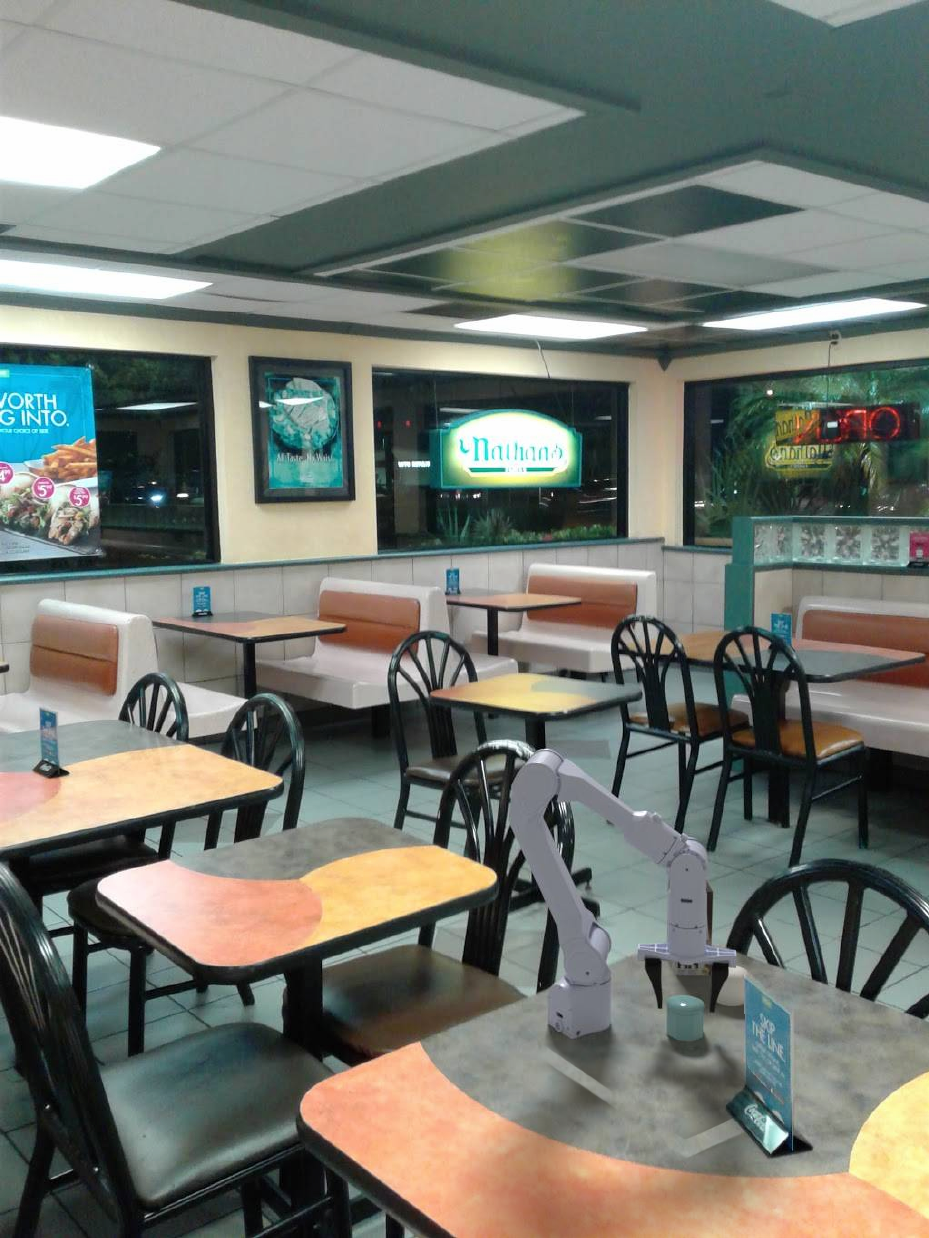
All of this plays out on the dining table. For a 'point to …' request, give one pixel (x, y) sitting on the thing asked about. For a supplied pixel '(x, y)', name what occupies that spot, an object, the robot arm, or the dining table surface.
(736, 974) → the white rounded cylinder
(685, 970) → the coffee box
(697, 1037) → the teal octagonal canister
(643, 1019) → the dining table surface
